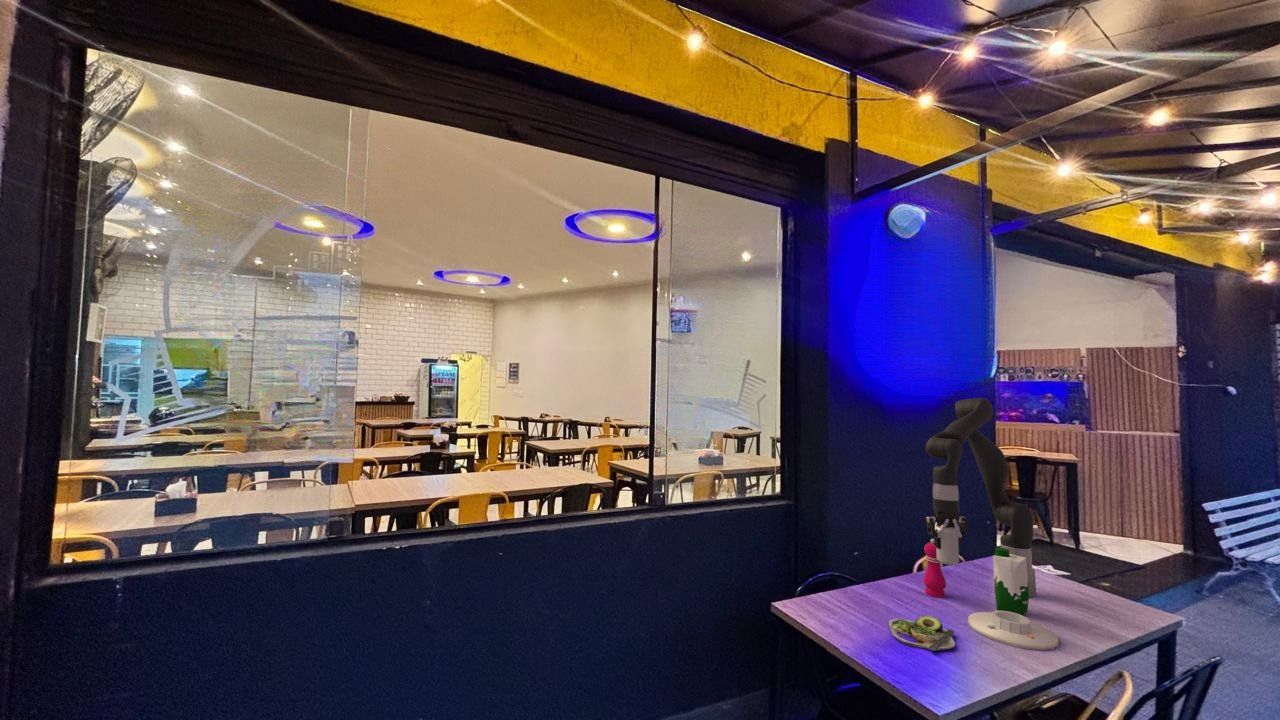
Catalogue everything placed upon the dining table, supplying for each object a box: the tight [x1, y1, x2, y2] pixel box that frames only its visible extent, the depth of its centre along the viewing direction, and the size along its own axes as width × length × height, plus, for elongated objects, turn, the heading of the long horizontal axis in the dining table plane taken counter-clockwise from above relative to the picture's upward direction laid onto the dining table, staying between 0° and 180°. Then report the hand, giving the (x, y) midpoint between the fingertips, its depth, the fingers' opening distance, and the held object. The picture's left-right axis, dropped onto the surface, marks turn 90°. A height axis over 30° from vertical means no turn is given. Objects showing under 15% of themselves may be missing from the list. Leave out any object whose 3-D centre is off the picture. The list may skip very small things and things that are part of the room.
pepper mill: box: [922, 538, 947, 599], centre depth 181 cm, size 7×7×20 cm
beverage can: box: [936, 526, 960, 566], centre depth 165 cm, size 6×6×12 cm
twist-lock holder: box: [967, 610, 1059, 651], centre depth 151 cm, size 22×22×4 cm
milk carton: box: [992, 547, 1030, 616], centre depth 168 cm, size 9×9×20 cm
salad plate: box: [888, 615, 956, 652], centre depth 145 cm, size 19×18×5 cm
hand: (947, 548), depth 165 cm, fingers closed on beverage can, 6 cm apart
